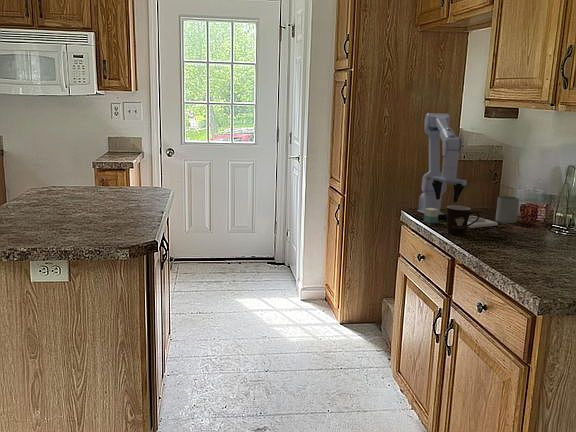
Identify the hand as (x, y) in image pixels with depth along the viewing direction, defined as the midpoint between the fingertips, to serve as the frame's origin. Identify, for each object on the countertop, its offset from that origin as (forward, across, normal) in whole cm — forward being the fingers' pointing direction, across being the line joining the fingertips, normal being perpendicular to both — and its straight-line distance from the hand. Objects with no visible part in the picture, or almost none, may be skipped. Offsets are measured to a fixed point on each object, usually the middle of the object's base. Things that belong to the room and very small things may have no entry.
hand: (446, 200), depth 229 cm
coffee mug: (+10, +13, -13) cm, 21 cm away
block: (+10, -5, -2) cm, 11 cm away
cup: (+10, +15, +26) cm, 32 cm away
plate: (+10, +7, +10) cm, 16 cm away
